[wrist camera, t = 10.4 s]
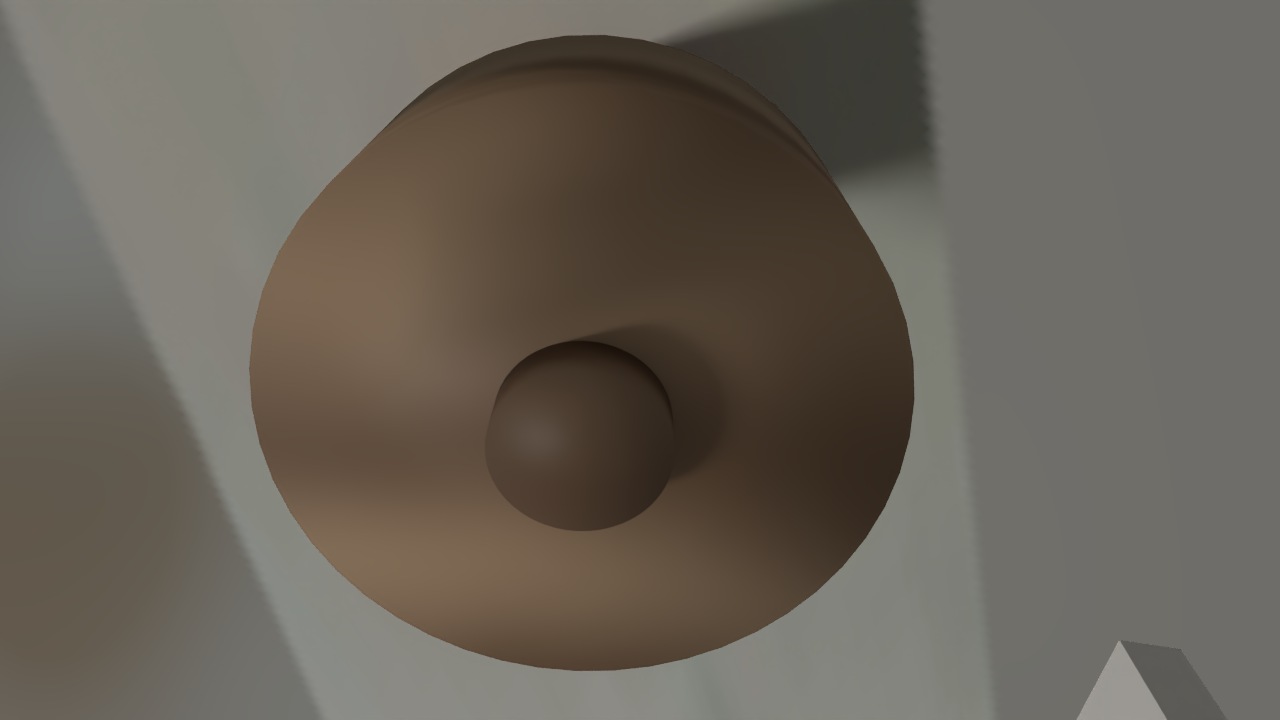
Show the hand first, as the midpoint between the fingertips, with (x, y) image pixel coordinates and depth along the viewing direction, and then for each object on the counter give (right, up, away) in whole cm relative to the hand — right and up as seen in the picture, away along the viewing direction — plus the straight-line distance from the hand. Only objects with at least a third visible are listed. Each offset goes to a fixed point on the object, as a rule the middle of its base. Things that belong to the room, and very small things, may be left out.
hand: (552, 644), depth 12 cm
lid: (0, +4, +9) cm, 11 cm away
